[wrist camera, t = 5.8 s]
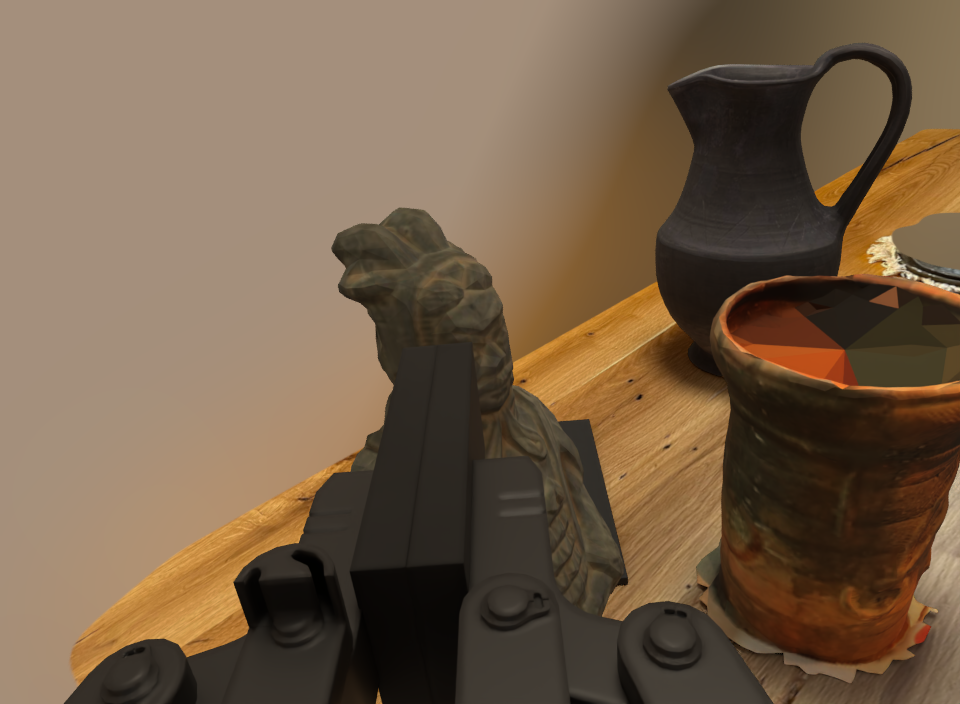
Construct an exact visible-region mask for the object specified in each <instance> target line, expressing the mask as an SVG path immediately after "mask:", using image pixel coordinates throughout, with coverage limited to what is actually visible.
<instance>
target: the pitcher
mask: <svg viewBox="0 0 960 704" xmlns="http://www.w3.org/2000/svg"><path fill="white" fill-rule="evenodd" d="M851 59H861V60H865V61H868V62H870V63H872V64H874V65H875V66H877V67H879V68H880V69H881V70H882V71H883V72H885V73H886V74H887V76H888V78H889V80H890V82H891V84H892V93H893V101H892V106H891V111H890V115H889V118H888V121H887V124H886V126H885V128H884V131H883V133H882V135H881V136H880V138H879V140H878V141H877V143H876V145H875V147H874V148H873V150H872V152H871V153H870V155H869V156H868V158H867V160H866V161H865V163H864V164H863V166H862V167H861V169H860V170H859V172H858V174H857V175H856V177H855V178H854V180H853V181H852V183H851V184H850V185H849V187H848V188H847V190H846V191H845V192H844V193H843V195H842V196H841V198H840V199H839V201H838V202H837V203H836V205H835V206H832V207H829V206H824V205H823V204H821V203H820V202H819V201H818V199H817V197H816V195H815V193H814V190H813V188H812V185H811V183H810V180H809V176H808V173H807V170H806V166H805V161H804V157H803V152H802V146H801V126H802V121H803V117H804V114H805V110H806V107H807V103H808V100H809V98H810V96H811V93H812V91H813V89H814V87H815V86H816V84H817V83H818V81H819V80H820V79H821V78H822V77H823V75H824V74H825V73H827V72H828V71H829V70H830V69H831V68H832V67H833V66H834V65H835V64H837V63H838V62H842V61H846V60H851ZM668 91H669V93H670V95H671V96H672V98H673V100H674V102H675V104H676V105H677V107H678V109H679V111H680V113H681V115H682V117H683V119H684V121H685V123H686V125H687V128H688V129H689V132H690V134H691V137H692V139H693V143H694V153H693V158H692V161H691V165H690V169H689V173H688V176H687V180H686V183H685V186H684V189H683V191H682V194H681V196H680V199H679V201H678V203H677V205H676V207H675V209H674V211H673V212H672V214H671V215H670V216H669V218H668V219H667V220H666V222H665V223H664V224H663V225H662V226H661V227H660V229H659V231H658V233H657V239H656V276H657V282H658V287H659V290H660V293H661V296H662V298H663V301H664V303H665V305H666V307H667V309H668V311H669V313H670V315H671V316H672V318H673V319H674V320H675V322H676V323H677V324H678V325H679V327H680V328H681V329H682V330H683V331H684V332H686V333H687V334H688V335H689V336H690V337H691V338H692V339H693V340H694V342H693V343H692V345H691V346H690V348H689V349H688V356H689V359H690V361H691V362H692V363H693V364H694V365H696V366H697V367H699V368H700V369H702V370H704V371H707V372H709V373H712V374H715V375H718V376H722V374H721V372H720V370H719V368H718V367H717V365H716V363H715V360H714V358H713V354H712V350H711V343H710V331H711V326H712V322H713V319H714V317H715V315H716V314H717V312H718V311H719V309H720V308H721V306H722V304H723V303H724V301H725V300H726V299H727V298H729V297H730V296H732V295H733V294H735V293H736V292H738V291H739V290H740V289H742V288H743V287H745V286H747V285H748V284H751V283H755V282H759V281H767V280H771V279H775V278H779V277H783V276H834V277H837V275H838V270H839V266H840V261H841V251H842V241H843V236H844V233H845V230H846V227H847V226H848V224H849V222H850V221H851V219H852V218H853V216H854V214H855V212H856V211H857V209H858V207H859V205H860V204H861V202H862V200H863V199H864V197H865V196H866V194H867V192H868V191H869V189H870V187H871V186H872V184H873V182H874V181H875V179H876V177H877V176H878V174H879V172H880V171H881V169H882V168H883V166H884V164H885V163H886V161H887V159H888V158H889V156H890V155H891V153H892V151H893V150H894V148H895V146H896V144H897V142H898V140H899V138H900V136H901V133H902V132H903V129H904V126H905V124H906V121H907V118H908V115H909V112H910V106H911V100H912V86H911V79H910V76H909V73H908V71H907V69H906V67H905V66H904V64H903V62H902V61H901V60H900V59H899V58H898V57H897V56H896V55H895V54H893V53H892V52H890V51H888V50H886V49H884V48H883V47H880V46H877V45H874V44H868V43H854V44H849V45H845V46H840V47H837V48H834V49H831V50H829V51H827V52H826V53H824V54H823V55H822V56H821V57H820V58H818V59H817V61H816V63H815V64H814V66H811V65H736V64H735V65H719V66H713V67H709V68H706V69H703V70H701V71H698V72H696V73H693V74H691V75H689V76H686V77H684V78H682V79H680V80H678V81H676V82H674V83H672V84H670V85H669V86H668Z"/></svg>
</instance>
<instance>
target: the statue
mask: <svg viewBox="0 0 960 704" xmlns="http://www.w3.org/2000/svg"><path fill="white" fill-rule="evenodd" d="M332 252H333V253H334V254H335V256H336V257H337V258H338V259H339V260H340V261H341V262H342V263H343V264H344V265H345V267H346V270H345V272H344V274H343V276H342V278H341V281H340V282H339V284H338V288H339V292H340V293H341V294H343V295H344V296H345V297H346V298H349V299H351V300H354V301H356V302H359V303H361V304H362V305H363V306H364V307H365V308H367V310H368V314H369V316H370V317H371V318H372V320H373V321H374V322H375V325H376V342H377V350H378V359H379V362H380V364H381V366H382V369H383V370H384V371H385V372H386V373H387V375H388V377H389V379H390V380H391V382H392V383H393V385H394V383H395V379H396V375H397V370H398V366H399V362H400V358H401V354H402V349H403V348H408V347H419V346H431V345H442V344H453V343H464V342H472V344H473V352H474V361H475V369H476V377H477V386H478V394H479V402H480V411H481V419H482V427H483V435H484V444H485V459H492V458H505V457H517V456H529V457H530V458H531V460H532V461H533V462H534V463H535V464H536V466H537V467H538V468H539V469H540V471H541V472H542V477H543V486H544V495H545V503H546V512H547V520H548V528H549V536H550V545H551V553H552V562H553V570H554V577H555V580H556V584H557V587H558V588H559V590H560V591H561V593H562V594H563V596H564V597H565V598H566V599H567V600H568V601H570V602H571V603H572V604H573V605H574V606H576V607H578V608H580V609H581V610H583V611H585V612H587V613H590V614H594V615H597V616H600V617H602V614H603V611H604V609H605V606H606V604H607V601H608V598H609V596H610V594H612V592H613V590H614V589H615V587H616V585H617V584H618V582H619V580H620V579H621V577H622V575H623V572H624V563H623V561H622V558H621V556H620V550H619V548H618V546H617V544H616V542H615V541H614V540H613V538H612V536H611V532H610V529H609V528H608V526H607V524H606V523H605V521H604V519H603V518H602V516H601V514H600V513H599V511H598V509H597V508H596V506H595V504H594V503H593V501H592V499H591V497H590V495H589V493H588V492H587V490H586V488H585V486H584V484H583V477H584V470H583V467H582V463H581V460H580V456H579V452H578V450H577V448H576V446H575V445H574V443H573V441H572V440H571V439H570V438H569V437H568V436H567V435H566V433H565V432H564V431H563V430H562V428H561V426H560V425H559V423H558V421H557V419H556V418H555V416H554V414H553V413H552V412H551V411H550V410H549V409H548V408H547V407H546V406H545V405H544V404H543V403H542V402H541V401H540V400H539V399H538V398H537V397H536V396H534V395H533V394H531V393H529V392H528V391H526V390H524V389H522V388H521V387H519V386H514V385H512V384H513V381H514V377H513V372H512V370H513V362H512V357H511V351H510V345H509V337H508V331H507V328H506V324H505V319H504V316H503V305H502V302H501V300H500V298H499V296H498V294H497V293H496V291H495V289H494V288H493V286H492V276H491V275H490V273H489V272H488V270H487V269H486V267H484V266H483V265H481V264H480V263H478V262H477V260H476V259H475V258H474V257H472V256H471V255H469V254H467V253H465V252H464V251H463V250H462V249H461V248H459V247H457V246H455V245H454V244H452V243H451V242H449V241H447V240H446V238H445V236H444V234H443V232H442V230H441V227H440V226H439V225H438V224H437V223H436V222H435V220H434V219H433V218H432V217H431V216H430V215H429V214H428V213H427V212H426V211H424V210H419V209H409V208H398V209H397V210H395V211H393V212H392V213H391V214H390V215H389V216H388V217H387V218H386V219H385V220H383V221H382V222H381V223H380V224H379V225H377V224H358V225H355V226H353V227H351V228H349V229H347V230H344V231H342V232H340V233H338V234H337V236H336V239H335V241H334V243H333V245H332ZM391 395H392V392H391V394H390V395H389V397H388V400H387V404H386V408H385V421H386V416H387V412H388V408H389V404H390V400H391ZM385 421H384V425H385ZM384 425H383V426H382V427H381V429H380V430H379V431H376V432H374V433H372V434H370V435H368V436H367V440H366V444H365V447H364V448H363V449H362V450H361V451H360V452H359V453H358V454H357V456H356V458H355V460H354V462H353V464H352V466H351V472H355V471H367V470H374V467H375V462H376V458H377V454H378V450H379V446H380V442H381V437H382V433H383V429H384Z"/></svg>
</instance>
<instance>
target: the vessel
mask: <svg viewBox="0 0 960 704" xmlns="http://www.w3.org/2000/svg"><path fill="white" fill-rule="evenodd" d="M710 343H711V350H712V354H713V358H714V360H715V363H716V365H717V367H718V368H719V370H720V372H721V374H722V376H723V377H724V379H725V381H726V383H727V387H728V391H729V396H730V406H731V412H730V418H729V425H728V431H727V436H726V441H725V449H724V460H723V484H722V498H721V509H722V537H721V539H720V542H719V546H718V547H717V548H716V549H715V550H713V551H712V552H711V553H709V554H708V555H707V556H705V557H704V558H703V559H702V560H701V561H700V563H699V564H698V565H697V567H696V569H697V574H698V577H697V583H698V584H701V585H703V586H706V587H709V588H708V589H707V590H706V591H705V592H704V593H703V594H702V596H701V597H700V598H699V599H700V600H701V601H702V602H703V603H705V604H706V605H707V613H708V616H709V617H710V618H711V619H712V620H713V621H714V622H715V623H716V624H717V625H718V626H719V627H720V628H721V629H722V630H723V631H724V633H725V634H726V636H727V637H729V638H730V639H731V640H733V641H734V642H736V643H737V644H739V645H741V646H742V647H744V648H746V649H748V650H751V651H753V652H756V653H783V655H784V664H786V665H798V666H799V667H800V668H801V669H802V670H804V671H805V672H806V673H807V674H813V675H816V674H818V673H822V674H826V675H829V676H832V677H835V678H838V679H840V680H843V681H846V682H848V683H852V681H853V679H854V678H855V674H856V669H858V670H862V671H865V672H869V673H877V674H883V672H884V671H885V670H886V669H887V668H888V667H889V665H890V663H891V661H892V659H894V660H906V659H908V658H911V657H913V656H915V655H914V654H912V653H911V652H910V651H908V650H907V648H909V647H911V646H913V645H915V644H918V643H921V642H924V640H925V638H926V636H927V634H928V632H929V630H930V628H931V626H929V625H927V624H925V623H923V620H924V617H925V615H926V614H927V613H928V612H929V611H933V612H936V613H938V610H937V609H934V608H931V607H927V606H925V605H923V604H921V603H919V602H917V601H916V600H915V597H914V591H915V589H916V586H917V584H918V581H919V579H920V577H921V575H922V574H923V573H924V572H925V571H926V570H927V569H928V568H929V566H930V561H931V547H932V544H933V542H934V539H935V535H936V533H937V532H938V530H939V528H940V527H941V525H942V523H943V521H944V519H945V516H946V513H947V510H948V506H949V501H948V495H949V490H950V488H951V486H952V484H953V482H954V479H955V477H956V474H957V471H958V468H959V463H960V295H958V294H955V293H952V292H949V291H946V290H943V289H941V288H938V287H935V286H932V285H928V284H925V283H921V282H918V281H914V280H911V279H907V278H900V277H892V276H877V275H869V274H858V275H851V276H845V277H834V276H783V277H779V278H775V279H771V280H767V281H759V282H755V283H751V284H748V285H747V286H745V287H743V288H742V289H740V290H739V291H738V292H736V293H735V294H733V295H732V296H730V297H729V298H727V299H726V300H725V301H724V303H723V304H722V306H721V308H720V309H719V311H718V312H717V314H716V315H715V317H714V319H713V322H712V326H711V331H710Z"/></svg>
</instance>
